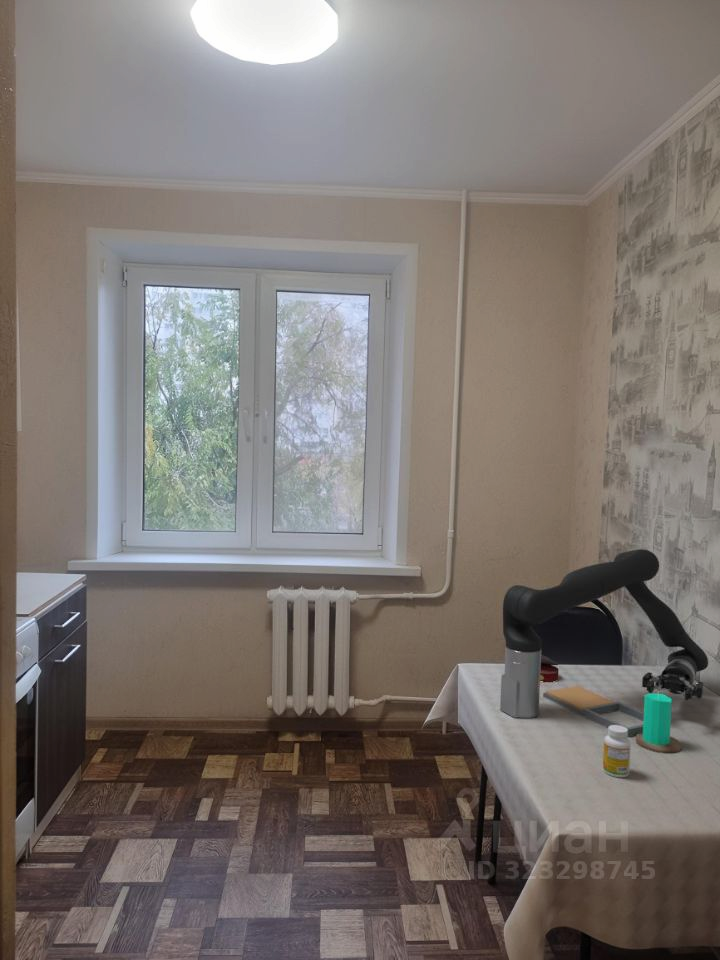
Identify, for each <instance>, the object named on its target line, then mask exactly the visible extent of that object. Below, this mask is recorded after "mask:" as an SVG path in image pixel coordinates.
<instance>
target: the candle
mask: <svg viewBox="0 0 720 960" xmlns="http://www.w3.org/2000/svg"><path fill="white" fill-rule="evenodd" d="M643 703H644V705H643V712H644V720H643V721H642V722H643V723H642V724H643V739H644V740H645V741H646V742H648V743H650V744H655V745H668V744H669V742H670V737H671V724H672V723H671V721H672V703H673V700H672V698H671V697H669V696H667V695H665V694H663V693H660V691H659V690H657V693H656V692H655V693H653V692H652V693H647V694H644V701H643Z"/></svg>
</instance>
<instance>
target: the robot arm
mask: <svg viewBox="0 0 720 960" xmlns="http://www.w3.org/2000/svg"><path fill="white" fill-rule="evenodd" d="M659 569H660V561H659V559H658V557H657V556H656V554H655V553H654V552H652V551H651V550H648V549H643V548H639V549H634V550H633V549H632V550H629V551H625V552H621V553H619V554H617V555H616V556H615V557H614V559H613V561H609V562H601V563H596V564H592V565H587V566H585V567H580V568H578V569H575V570H573V571H570V572H569V573H567V574H566V575H565V576H564V577H563V579H562V580H561V582H560V583H559V584H558V585H555V586H552V587H549V588H545V589H536V588H532V587H527V586H525V585H520V584H519V585H518V584H517V585H513V586H511V587H509V589H507V591H506V593H505V594H504V597H503V603H502V632H503V636H504V640H505V649H504V650H505V651H504V653H505V654H504V674H502V675H501V678H500V680H501V681H500V701H499V702H500V704H499V706H500V708H499V711H501V712H503V713H506V714H507V715H509V716H511V717H513V718H523V719H525V718H526V719H527V718H528V719H529V718H535V717H537V716H539V714H540V713H539V711H540V710H539V709H540V694H541V693H540V692H541V691H540V690H541V689H540V688H541V682H540V670H541V655H542V643H543V642H542V638H541V636H539V635H538V633H536V631H535V630H534V628H533V626H534V625H535V626H536V625H540V624H543V623H545V622H547V621H548V620H550V619H552V618H554V617H556V616H558V615H560V614H561V613H563V612H566V611H569V610H570V609H574V608H577V607H578V606H581V605H584V604H588V603H591V602H593V601H596V600H598V599H601V598H603V597H604V596H607V595H609V594H611V593H613V592H615V591H618V590H620V589H621V588H624V587H625V589H626V590H627V591H628V593H629V594H630V595H631V596H632V598H633V599H634V601H636V603H637V604H638V605H639V607H640V608H641V610H642V611H643V612H644V613H645V614H646V616H647V617H648V619H649V620H650V622H651V624H652V625H653V627H654V630H655V631H656V633H657V635H658V636H659V638H660V640H661V642H662V643H663V644H664V646H666V647H668V648H677V647H678V648H682V649H679V650H676V651H674V652H671V653H669V655H668V656H667V662H668V663H667V665H666V666H665V667H664V669H663V670H662V672H661V674H659V675H658V676H655V675H653V673H652V672H650V671H649V672H647V673H645V674H644V675H643V676H642V679H641V680H642V683H641V687H642V688H646V691H648V694H650V693H653V692H654V691H655V690H657V691H659V692H660V691H668V692H669V693H671V694H673V695H683V696H684V700H685V701H689V700H692V699H693V698H694V697H696V698H698V699H702V698H703V693H704V682H702V681H698V682H696V683H694V682H695V679H696V675H697V673H698V672H701V671H704V670H706V669H707V668H708V666H709V659H708V655H707V654H706V652H705V651H704V650H703V649H702V648H701V647H700V645H698V644H697V643H696V642H695V641H694V639H693V638H691V636H689V635H688V633H687V631H686V630H685V628H684V626H683V625H682V623H681V621H680V620H679V618H678V616H677V614H676V613H675V612H674V611H673V609H672V608H670V606H668V604H665V602H664V601H662V599H660V598H659V597H658V596H656V595H655V594H654V593H653V592H652V590H650V589H649V587H648V586H647V584H646V583H645V582H648V581H650V580H652V579H653V578H655V577H656V575H657V574H658V572H659Z"/></svg>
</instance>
